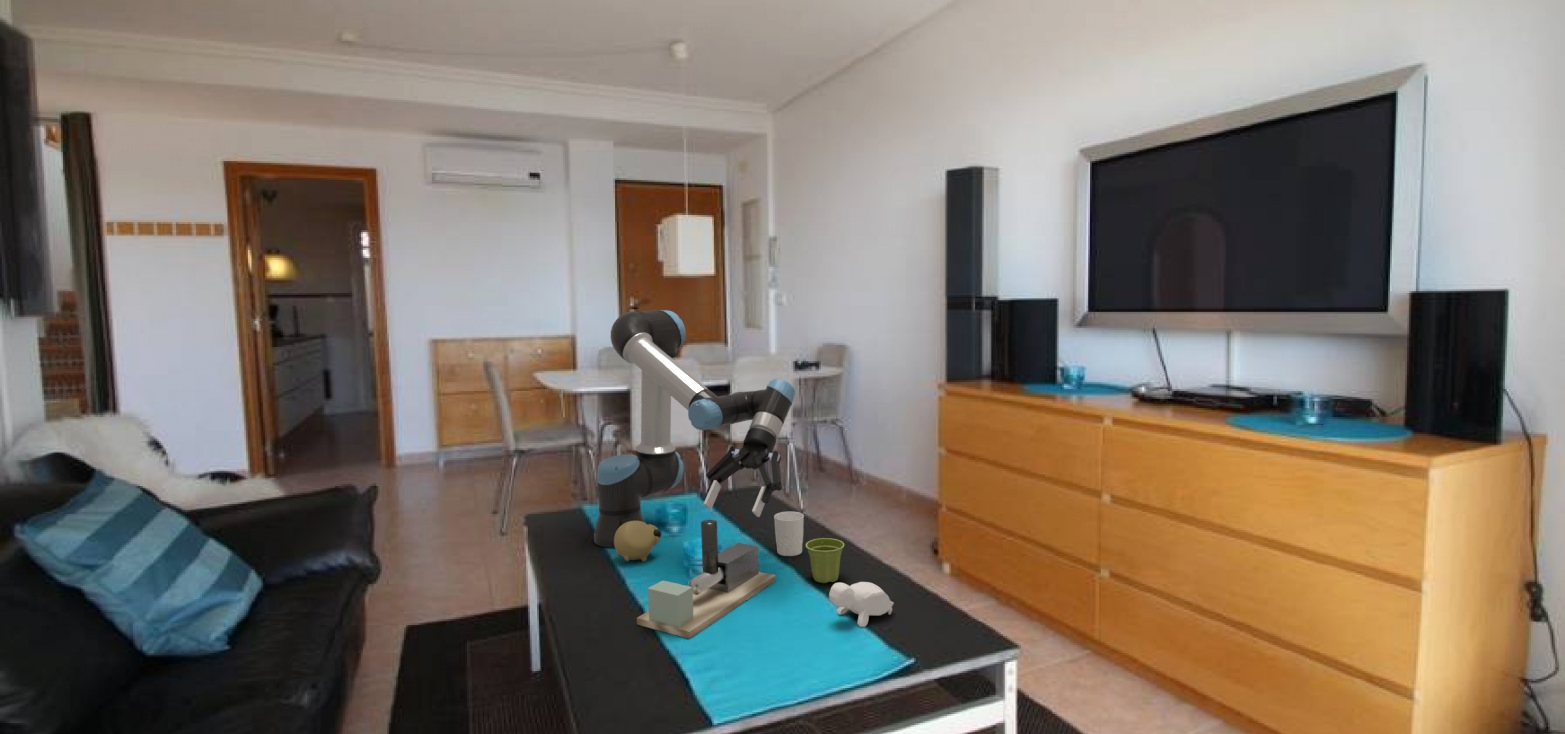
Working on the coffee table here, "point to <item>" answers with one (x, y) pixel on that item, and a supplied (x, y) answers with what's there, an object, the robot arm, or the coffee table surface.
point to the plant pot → (825, 558)
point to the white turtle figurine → (860, 600)
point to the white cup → (789, 533)
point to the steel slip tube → (708, 559)
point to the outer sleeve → (737, 566)
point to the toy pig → (636, 540)
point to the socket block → (670, 603)
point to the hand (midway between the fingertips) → (731, 510)
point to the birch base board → (711, 606)
